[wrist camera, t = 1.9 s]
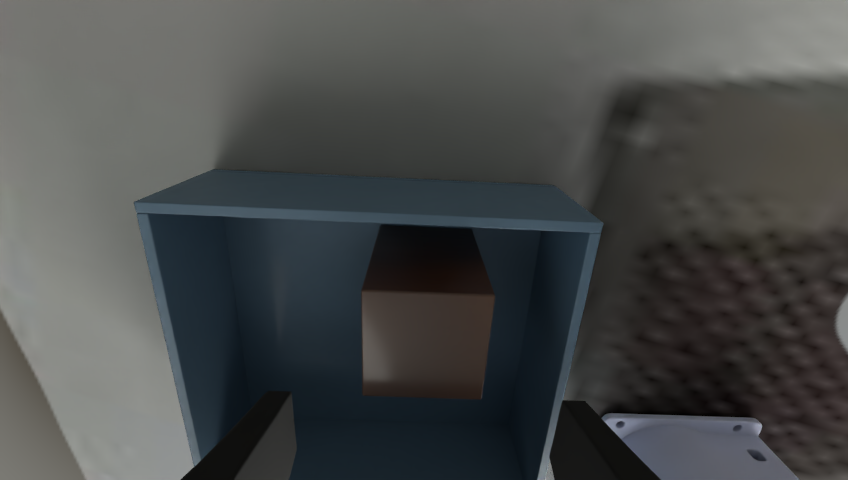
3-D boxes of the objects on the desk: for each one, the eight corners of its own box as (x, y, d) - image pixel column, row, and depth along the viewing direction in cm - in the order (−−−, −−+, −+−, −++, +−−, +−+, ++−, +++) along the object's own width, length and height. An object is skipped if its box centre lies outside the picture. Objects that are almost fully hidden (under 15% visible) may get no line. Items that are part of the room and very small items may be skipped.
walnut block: (472, 228, 19) (496, 295, 13) (464, 308, 20) (482, 400, 14) (379, 224, 19) (360, 290, 13) (379, 305, 20) (361, 396, 14)
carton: (554, 185, 18) (604, 222, 13) (512, 424, 24) (537, 515, 19) (212, 168, 18) (132, 201, 13) (249, 416, 24) (202, 506, 19)
